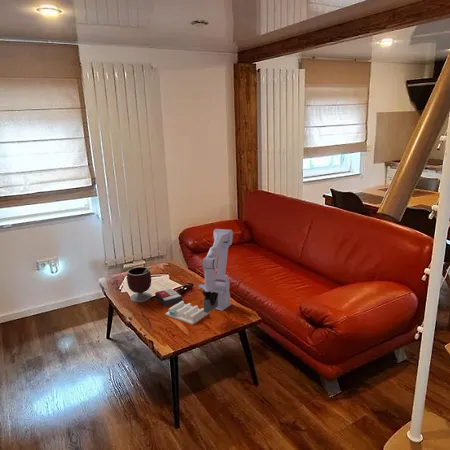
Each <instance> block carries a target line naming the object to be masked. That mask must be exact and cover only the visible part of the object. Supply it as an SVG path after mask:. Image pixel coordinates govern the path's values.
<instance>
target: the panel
mask: <svg viewBox="0 0 450 450" xmlns="http://www.w3.org/2000/svg"><path fill="white" fill-rule="evenodd" d="M216 307H218V296H217V299H216V303H215V305H213V306H212V303H211V297H210V296H208V297H207V298H205V297H204V299H203V308H204V312H206V313H209V314H210V312H212V311H213V310H216V309H215V308H216Z"/></svg>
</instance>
